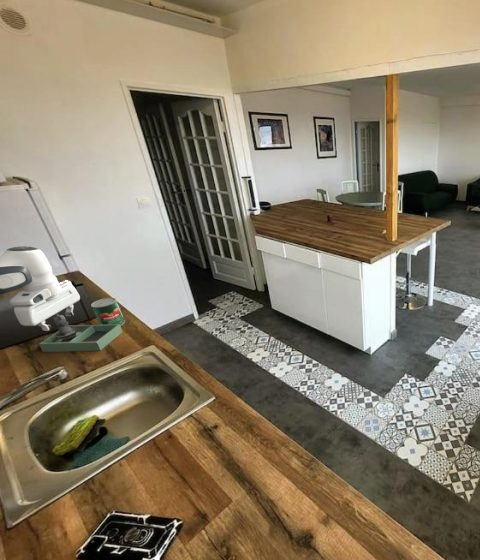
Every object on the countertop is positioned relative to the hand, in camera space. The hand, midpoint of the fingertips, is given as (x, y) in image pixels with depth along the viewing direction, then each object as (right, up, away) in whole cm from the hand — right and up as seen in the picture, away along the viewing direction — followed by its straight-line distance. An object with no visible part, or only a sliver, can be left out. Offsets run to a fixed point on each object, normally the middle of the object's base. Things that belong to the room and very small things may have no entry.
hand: (59, 322), depth 116 cm
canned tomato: (+6, -3, +16) cm, 17 cm away
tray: (+5, -8, +5) cm, 10 cm away
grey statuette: (0, -7, +4) cm, 8 cm away
